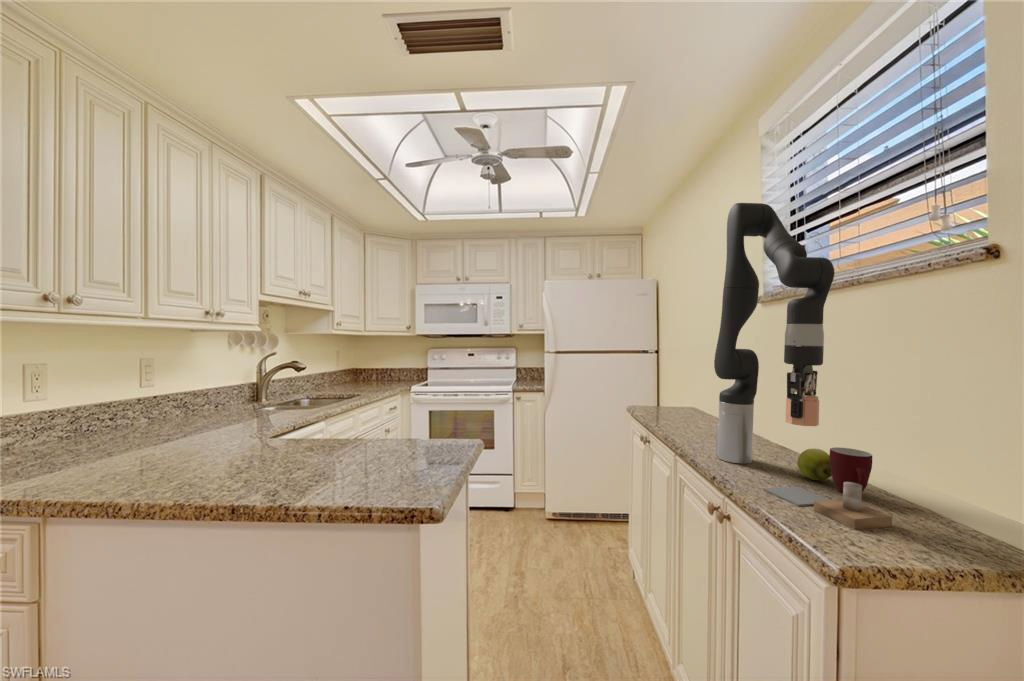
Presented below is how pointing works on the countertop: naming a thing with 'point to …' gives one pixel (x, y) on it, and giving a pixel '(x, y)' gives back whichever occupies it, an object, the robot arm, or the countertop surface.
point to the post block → (853, 510)
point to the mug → (850, 466)
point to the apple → (815, 464)
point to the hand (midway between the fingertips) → (801, 415)
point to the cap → (805, 412)
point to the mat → (796, 495)
